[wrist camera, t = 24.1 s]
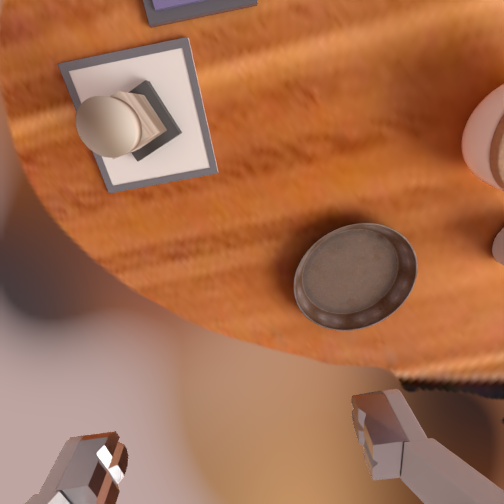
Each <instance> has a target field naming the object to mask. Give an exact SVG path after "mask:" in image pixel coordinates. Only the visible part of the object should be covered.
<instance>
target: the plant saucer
mask: <svg viewBox="0 0 504 504" xmlns="http://www.w3.org/2000/svg"><path fill="white" fill-rule="evenodd" d="M416 277H417V258H416V254H415V251H414V249H413V247H412V246H411V244H410V242H409V241H408V240H407V239H406V238H405V237H404V236H403V235H402V234H401V233H399V232H398V231H396V230H394V229H392V228H390V227H387V226H384V225H381V224H376V223H357V224H352V225H347V226H344V227H341V228H338V229H336V230H334V231H332V232H330V233H328V234H326V235H325V236H323V237H322V238H320V239H319V240H318V241H317V242H315V243H314V244H313V245H312V246H311V247H310V248H309V250H308V251H307V252H306V253H305V255H304V256H303V258H302V259H301V261H300V263H299V265H298V267H297V270H296V273H295V277H294V296H295V299H296V302H297V305H298V307H299V308H300V310H301V311H302V313H303V314H304V315H305V316H306V317H307V318H308V319H309V320H311V321H312V322H314V323H315V324H317V325H319V326H321V327H324V328H327V329H331V330H338V331H351V330H358V329H363V328H366V327H369V326H372V325H375V324H377V323H379V322H381V321H383V320H384V319H386V318H387V317H389V316H390V315H392V314H393V313H394V312H395V311H396V310H398V309H399V308H400V306H401V305H402V304H403V303H404V302H405V301H406V299H407V298H408V296H409V294H410V293H411V291H412V289H413V286H414V284H415V281H416Z"/></svg>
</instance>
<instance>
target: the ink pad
mask: <svg viewBox="0 0 504 504" xmlns="http://www.w3.org/2000/svg"><path fill="white" fill-rule="evenodd" d="M143 3H144V7H145V10H146V14H147V18H148V22H149V25H150V26H151V27H156V26H161V25H166V24H171V23H175V22H180V21H185V20H190V19H195V18H199V17H204V16H209V15H214V14H218V13H223V12H228V11H233V10H238V9H242V8H247V7H252V6H257V0H143Z"/></svg>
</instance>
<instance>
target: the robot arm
mask: <svg viewBox="0 0 504 504" xmlns="http://www.w3.org/2000/svg"><path fill="white" fill-rule="evenodd" d="M351 403H352V406H353V408H354V409H353V411H352V420H353V425H354V428H355V432H356V435H357V438H358V441H359V443H360V444H361V445H363V446H364V458H365V461H366V464H367V466H368V469H369V471H370V474H371V477H372V480H381V479H390V478H400V477H401V480H402V481H403V482H404V483H405V484H406V485H407V486H408V487H409V488H410V489H411V490H412V491H413V492H414V493H415V494H416V495H417V496H418V497H419V498H420V500H422V502H423V503H424V504H504V491H503V490H502V489H501V488H499V487H498V486H496V485H495V484H494V483H492V482H491V481H490V480H488V479H487V478H486V477H484V476H483V475H482V474H480V473H479V472H478V471H476V470H475V469H474V468H472V467H471V466H470V465H468V464H467V463H465V462H464V461H463V460H461V459H460V458H459V457H457V456H456V455H455V454H453V453H452V452H451V451H449V450H448V449H447V448H445V447H444V446H442V445H441V444H440V443H438V442H437V441H436V440H434V439H433V438H430V439H428V438H427V437H426V435H425V433H424V431H423V430H422V428H421V426H420V424H419V423H418V421H417V419H416V418H415V416H414V414H413V412H412V410H411V409H410V407H409V405H408V404H407V402H406V400H405V398H404V397H403V395H402V393H401V392H400V391H399V390H398V389H392V390H386V391H377V392H371V393H365V394H359V395H353V396H352V398H351ZM118 440H119V436H118V434H117V433H116V431H115V432H108V433H101V434H93V435H85V436H78V437H71V438H70V439H69V440H68V441H67V442H66V443H65V445H64V447H63V449H62V450H61V452H60V454H59V456H58V458H57V460H56V462H55V464H54V466H53V468H52V469H51V471H50V473H49V475H48V477H47V479H46V481H45V483H44V484H43V486H42V488H41V490H40V492H39V494H35V495H33V496H32V497H31V498H30V499H29V500H28V501H27V502H26V503H25V504H116V501H117V498H118V495H119V487H118V483H119V482H120V481H121V479H122V478H123V477H124V476H125V472H126V469H127V465H128V453H127V449H126V447H125V445H124V444H122V443H120V442H118Z"/></svg>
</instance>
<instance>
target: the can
mask: <svg viewBox="0 0 504 504" xmlns="http://www.w3.org/2000/svg"><path fill="white" fill-rule="evenodd" d="M492 253H493V257H494V258H495V260H496V261H497V262H499V263H501V264H502V265H504V228H502V230H501V231H500V232H499V233H498V234H497V236H496V237H495V239H494V243H493V247H492Z"/></svg>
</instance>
